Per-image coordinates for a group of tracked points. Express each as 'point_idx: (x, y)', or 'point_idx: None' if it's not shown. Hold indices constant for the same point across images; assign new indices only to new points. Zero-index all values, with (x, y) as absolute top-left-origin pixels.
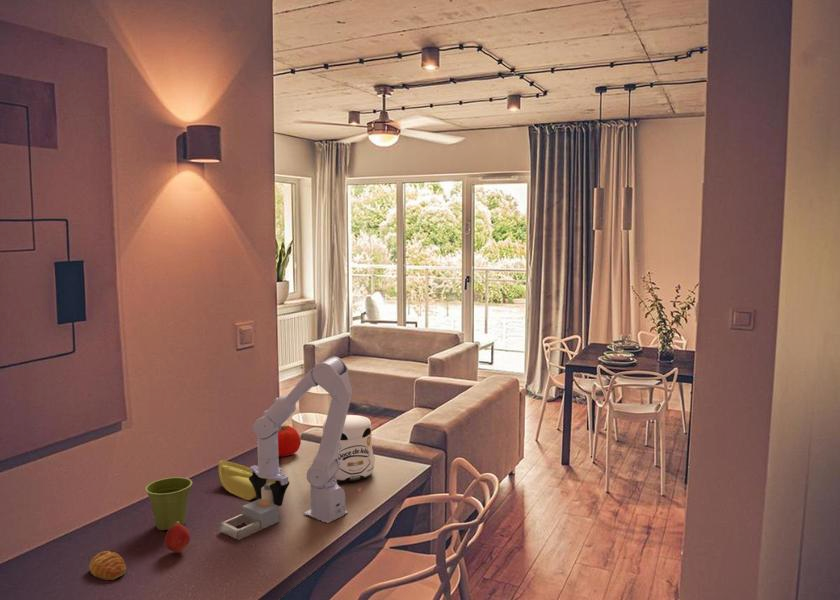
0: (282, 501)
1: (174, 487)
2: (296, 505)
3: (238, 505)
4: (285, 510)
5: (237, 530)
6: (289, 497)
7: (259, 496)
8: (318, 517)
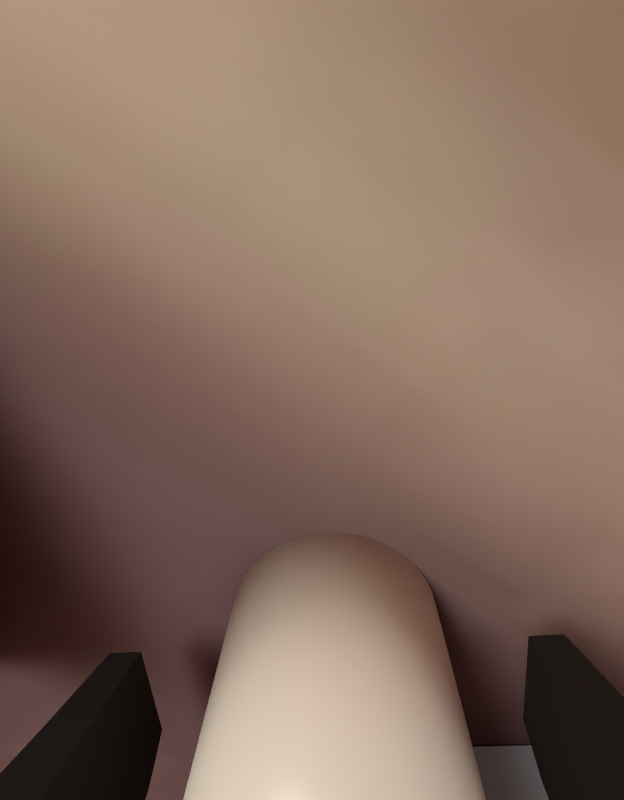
0: (607, 682)
1: None
2: (581, 338)
3: None
4: (564, 539)
5: None
6: (223, 222)
7: (139, 785)
8: None
